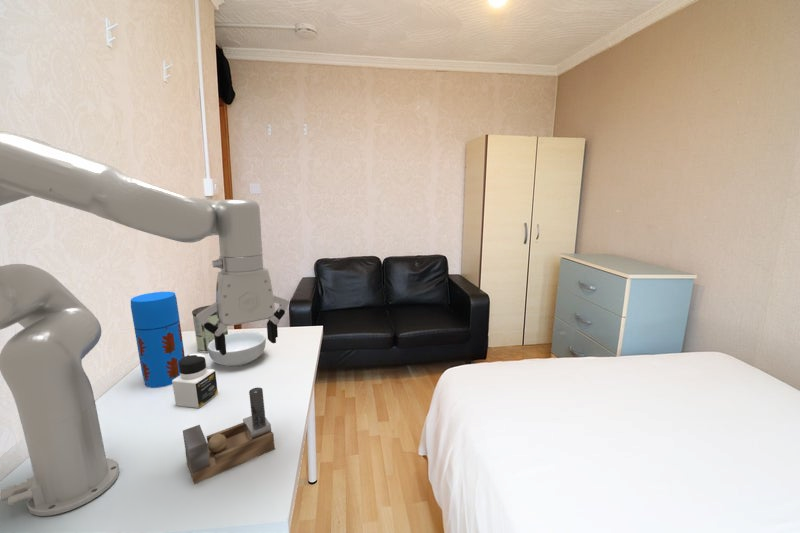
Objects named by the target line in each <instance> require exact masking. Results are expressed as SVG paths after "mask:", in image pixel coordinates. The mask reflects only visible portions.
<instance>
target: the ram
mask: <svg viewBox="0 0 800 533" xmlns="http://www.w3.org/2000/svg"><path fill="white" fill-rule="evenodd" d="M248 393H249V394H248V395H249V401H250V402H249V403H250V404H249V405H250V411H251V412H250V413H251V414H250V416H248V417H245V418H243V419H242V423H243V426H244V431H245V433H246V435H247V437H248V438H249V440H253V439H255V438H258V437H260V436H263V435H265V434H267V433H270V432H272V426H271V425H272V424H271V423H270V421H269V420H268V418H267V417H266V411H265V401H264V390H263V388H262V387H254V388H251V389H250V390H249V392H248Z"/></svg>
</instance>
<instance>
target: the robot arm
mask: <svg viewBox="0 0 800 533" xmlns="http://www.w3.org/2000/svg"><path fill="white" fill-rule="evenodd" d="M29 197H35V198H39V199H43V200H44V201H45V200H46V201H49V202H52V203H56V204H59V205H64V206H66V207H69V208H73V209H75V210H76V209H77V210H78V211H79V210H80V211H84V212H86V213H90V214H93V215H95V216H98V217H99V218H101V219H105V220H109V221H110V222H113V223H116V224H119V225H122V226H125V227H128V228H130V229H132V230H133V229H134V230H137V231H140V232H143V233H147V234H150V235H153V236H158V237H161V238H164V239H168V240H172V241H175V242H180V243H190V244H191V243H197V242H200V241H202V240H204V239H206V238H207V237H211V236H212V237H213V236H218V244H219V254H220V255H219V256H218V259H215V260H212V262H211V265H212V268H216V269H217V268H218V269H220V270H221V271H218V272H217V276H216V277H217V279H216V287H215V288H216V289H215V302H213V303H212V304H210V305H211V306H209V305H208V306H209V307H208V308H206V309H204V310H203V311H201V312H200V313H198V314H197V315H196V318H197V319H198V320H199V321H200V323H201V324H202V325H203V327H204V328H205V329H206V330H208V331H210V332H211V333H213V334H214V338H215V348H216V350H217V351H218V350H219V352H220V353H221V354H222V355H225V354H226V343H225V335H224V334H223V331H224V330H225V329H226V327H227V328H228V326H229V327H230V326H237V325H243V324H244V325H245V324H248V323H253V322H258V321H259V322H260V321H263V320H264V321H265V320H268V321H267V322H266V332H267V340H268V341H269V342H271V343H272V344H276V343H277V338H278V336H279V331H278V324H279V323H280V320H281V319H282V317H284V315H285V314H286V310H287V309H288V306H289V304H290V302H289V301H288V300H287V299H285V298H282V297H279V296H276V295H274V293H273V287H272V286H273V284H272V281H271V277H270V273H269V272H270V271H269V269H267V268H265V267H264V261H263V260H264V259H263V242H262V227H261V225H262V224H261V222H262V221H261V209H260V205H259V203H258V202H257V201H255V200H253V199H241V198H240V199H232V198H231V199H222V200H215V199H205V198H199V197H190V196H189V197H188V196H186V195H181V194H179V193H176V192H172V191H169V190H166V189H163V188H162V187H157V186H155V185H151V184H149V183H146V182H144V181H141V180H138V179H137V178H133V177H130V176H129V175H127V174H126V173H123V171H121V170H120V169H118V168H116V167H114V166H112V165H109V164H107V163H104V162H101V161H99V160H98V161H97V160H94V159H92V158H89V157H86V156H83V155H79V154H77V153H73V152H71V151H68V150H64V149H61V148H59V147H56V146H54V145H52V144H50V143H48V142H45V141H43V140H40V139H37V138H33V137H29V136H26V135H22V134H18V133H16V132H10V131H4V130H3V131H2V130H0V207H1V206H3V205H7V204H11V203H14V202H16V201H19V200H23V199H26V198H29ZM275 303H276V304H278V305H279V306H278V308H277V309H276V310H275V307H276V306H275ZM215 312H216V313H217V317H218V321H217V322H216V323H215V325H213V324H212V323H210V322H209V321H208V320H207V318H208V317H209V316H210V315H212V314H213V313H215ZM17 323H18V324H19V325H20V326H22V328H23V329H21V330H20V331H18V332H17V333H15V334H13V336H12V337H11V338H9V339H8V340H7V342H5V344H4V345H3V347H2V349H1V350H0V373H1V376H2V377H3V380H4V382H5V384H7V387H8V388H9V390H10V392H11V395H12V397H13V399H14V402H15V403H14V404H15V405H16V409H17V412H18V417H19V420H20V425H21V428H22V432H23V436H24V440H25V443H26V448H27V453H28V456H29V461H30V464H31V468H32V473H33V476H32V477H29V478H26V481H24V482H21V483H18V484H14V485H12V486H8V487H6V488H5V487H4V488H2V489H1V490H0V501H1V502H5V501H7V505H8V506H13V505H15V504H17V503H20V502H22V501H25V500H27V501H26V505H27V508H28V511H29V513H31V514H32V515H35V516H42V517H46V516H54V515H59V514H64V513H65V512H69V511H72V510H74V509H77V508H80V507H81V506H84V505H86V504H87V503H89V502H91V501H92V500H94V499H96V498H97V497H99V496H100V495H102V494H103V493H104V492H105V491H107V490H108V489H109V488H110V487H111V486H112V485H113V484H114V483H115V481H116V480H117V478H118V477H119V474H120V467H119V466H120V465H119V463H118V461H116V459H115V460H114V459H113V458H107V455H106V451H105V446H104V440H103V434H102V430H101V425H100V421H99V415H98V410H97V409H98V408H97V405H96V400H95V396H94V391H93V386H92V384H91V381H90V379H89V377H88V376H87V373H86V372H85V369H84V368H83V364H82V361H83V359H84V358H85V357H86V355H88V354H89V353H90V352H91V351H92V350H93V349H94V348H95V347H96V345H98V343H99V341H100V339H101V337H102V326H101V322H100V321H99V320H98V318H97V317H96V315H95V314H94V313H93V312H92V311H91V310H90V309H89V308H88V307H87V306H86V305H85V304H84V303H82V302H81V300H80V299H79V298H78V297H77V296H75V295H74V294H73V293H72V292H71V291H70V290H69V289H68V288H67V286H66V287H65V285H63V284H62V283H61V282H60V281H59V280H58V279H57V278H56V277H55V276H53V275H52V274H51V273H49V272H47V271H46V270H44V269H42V268H40V267H37V266H35V265H31V264H27V263H26V264H25V263H11V264H5V265H0V330H4V329H7V328H8V327H11V326H13V325H15V324H17Z"/></svg>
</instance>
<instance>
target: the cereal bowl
mask: <svg viewBox="0 0 800 533" xmlns="http://www.w3.org/2000/svg"><path fill="white" fill-rule="evenodd" d="M225 343H226V354H225V355H222V354H221V353H220V352H219V350H218V351H217V350H216V348H215V339H214V340H213V341H211V342H210V343H209V344H208V352H209V353H208V355H209V357H210V359H211V360H212V361H213V362H214V363H217V364H219V365H221V366H227V367H241V366H245V365H247V364H250V363H251V362H253V361H254V360H256V359H258V358H259V357H260V356H261V355H262V354H263V352H264V351H265V348H266V336H265V335H264V334H263V333H261V332H257V331H256V332H255V331H239V332H232V333H228V334H227V335H225Z"/></svg>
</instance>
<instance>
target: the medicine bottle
mask: <svg viewBox="0 0 800 533" xmlns="http://www.w3.org/2000/svg"><path fill="white" fill-rule="evenodd" d="M178 364H179V371H180V376H178V377H177V378H175V379H174V380H172V384H171V385H172V389H173V396H174V402H175V406H178V407H187V408H194V409H200V408H202V407H203V406H204V405H205V404H207V403H208V402H209V401H210V400H212V399H213V398H214V397H216V396H217V395H218V394H219V391H218V383H217V375H216V370H215V369H210V368H207V360H206V356H205V355H204V354H203V353H202V354H201V353H191V354H188V355H186V356H185V357H183V358H182V359H180V360H179V362H178Z"/></svg>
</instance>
